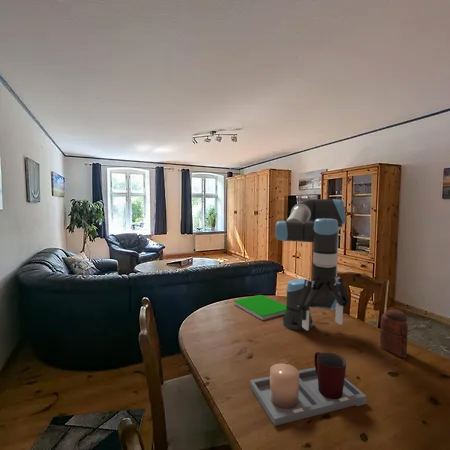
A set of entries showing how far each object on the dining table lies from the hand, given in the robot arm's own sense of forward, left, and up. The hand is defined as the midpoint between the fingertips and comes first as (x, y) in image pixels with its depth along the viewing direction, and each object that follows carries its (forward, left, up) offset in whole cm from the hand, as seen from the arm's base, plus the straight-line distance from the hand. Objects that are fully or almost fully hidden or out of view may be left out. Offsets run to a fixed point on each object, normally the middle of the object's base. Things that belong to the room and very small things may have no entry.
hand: (322, 325), depth 96 cm
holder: (+8, +3, -21) cm, 23 cm away
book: (-11, -71, -22) cm, 75 cm away
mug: (0, +4, -21) cm, 21 cm away
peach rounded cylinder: (+16, +3, -20) cm, 26 cm away
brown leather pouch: (-44, -10, -21) cm, 50 cm away
